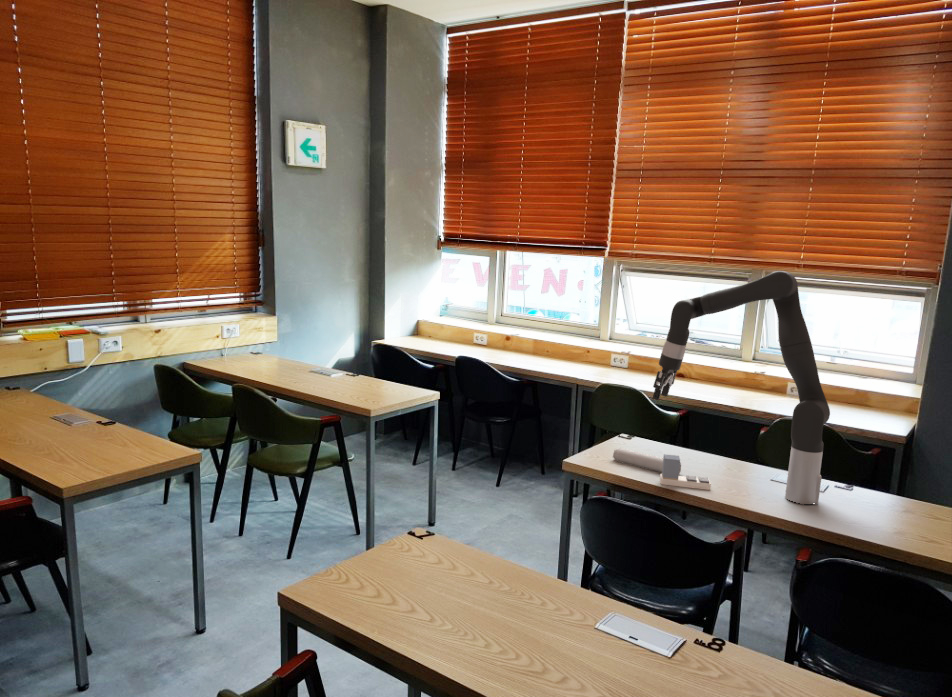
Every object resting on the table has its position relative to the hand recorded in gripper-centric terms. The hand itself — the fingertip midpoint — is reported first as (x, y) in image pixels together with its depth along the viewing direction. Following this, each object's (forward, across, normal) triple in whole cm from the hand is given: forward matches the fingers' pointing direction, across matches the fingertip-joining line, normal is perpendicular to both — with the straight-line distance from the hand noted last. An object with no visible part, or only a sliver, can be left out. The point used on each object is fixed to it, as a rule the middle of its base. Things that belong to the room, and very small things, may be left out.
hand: (659, 397), depth 255 cm
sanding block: (+21, -15, -15) cm, 30 cm away
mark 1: (+20, -12, -22) cm, 32 cm away
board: (+22, -13, -20) cm, 32 cm away
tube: (+26, -4, -3) cm, 26 cm away
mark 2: (+19, -10, -25) cm, 33 cm away
